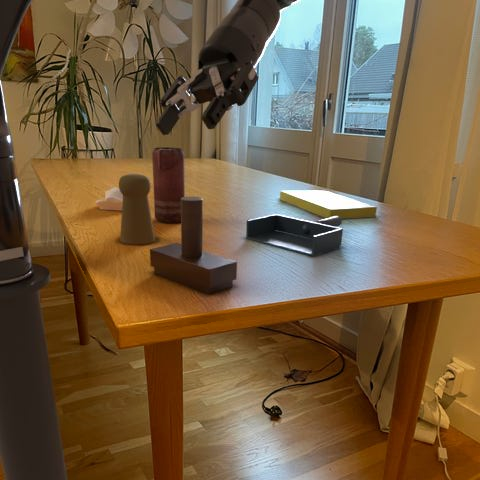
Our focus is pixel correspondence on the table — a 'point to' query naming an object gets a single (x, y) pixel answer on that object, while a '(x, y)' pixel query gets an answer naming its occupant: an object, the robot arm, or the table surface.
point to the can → (168, 183)
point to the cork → (136, 210)
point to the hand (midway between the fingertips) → (183, 127)
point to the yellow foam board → (328, 204)
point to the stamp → (193, 255)
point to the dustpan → (296, 233)
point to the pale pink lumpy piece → (111, 200)
